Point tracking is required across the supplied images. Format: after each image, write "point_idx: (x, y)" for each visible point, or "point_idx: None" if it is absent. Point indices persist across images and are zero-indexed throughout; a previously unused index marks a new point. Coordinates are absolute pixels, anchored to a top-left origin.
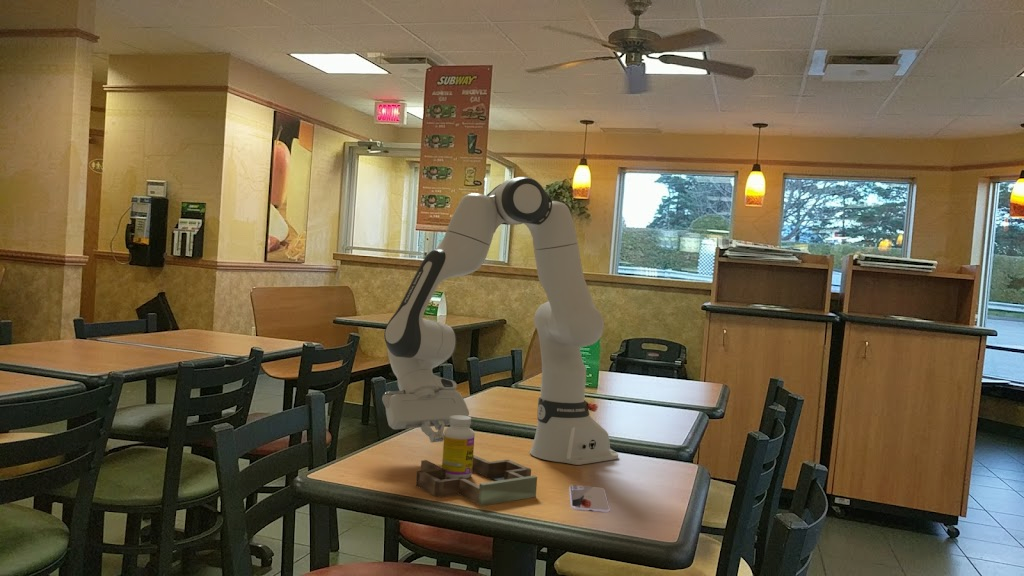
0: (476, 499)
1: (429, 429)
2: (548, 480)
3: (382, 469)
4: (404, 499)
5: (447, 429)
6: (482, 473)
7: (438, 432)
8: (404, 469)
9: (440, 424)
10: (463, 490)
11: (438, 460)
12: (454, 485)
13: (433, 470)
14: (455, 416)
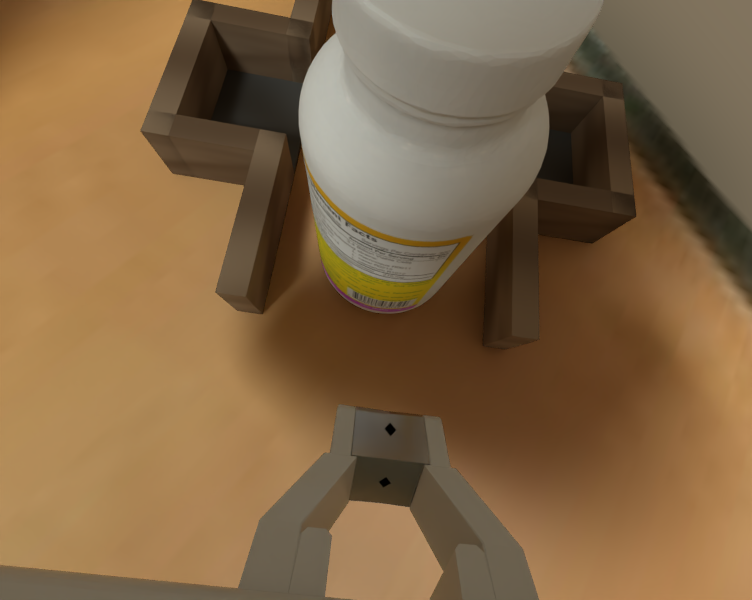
0: None
1: (475, 498)
2: (128, 37)
3: (621, 513)
4: (679, 166)
5: (540, 135)
6: (285, 202)
7: (381, 452)
8: (529, 456)
9: (318, 530)
10: None
11: None
12: None
13: (567, 190)
14: (511, 2)
